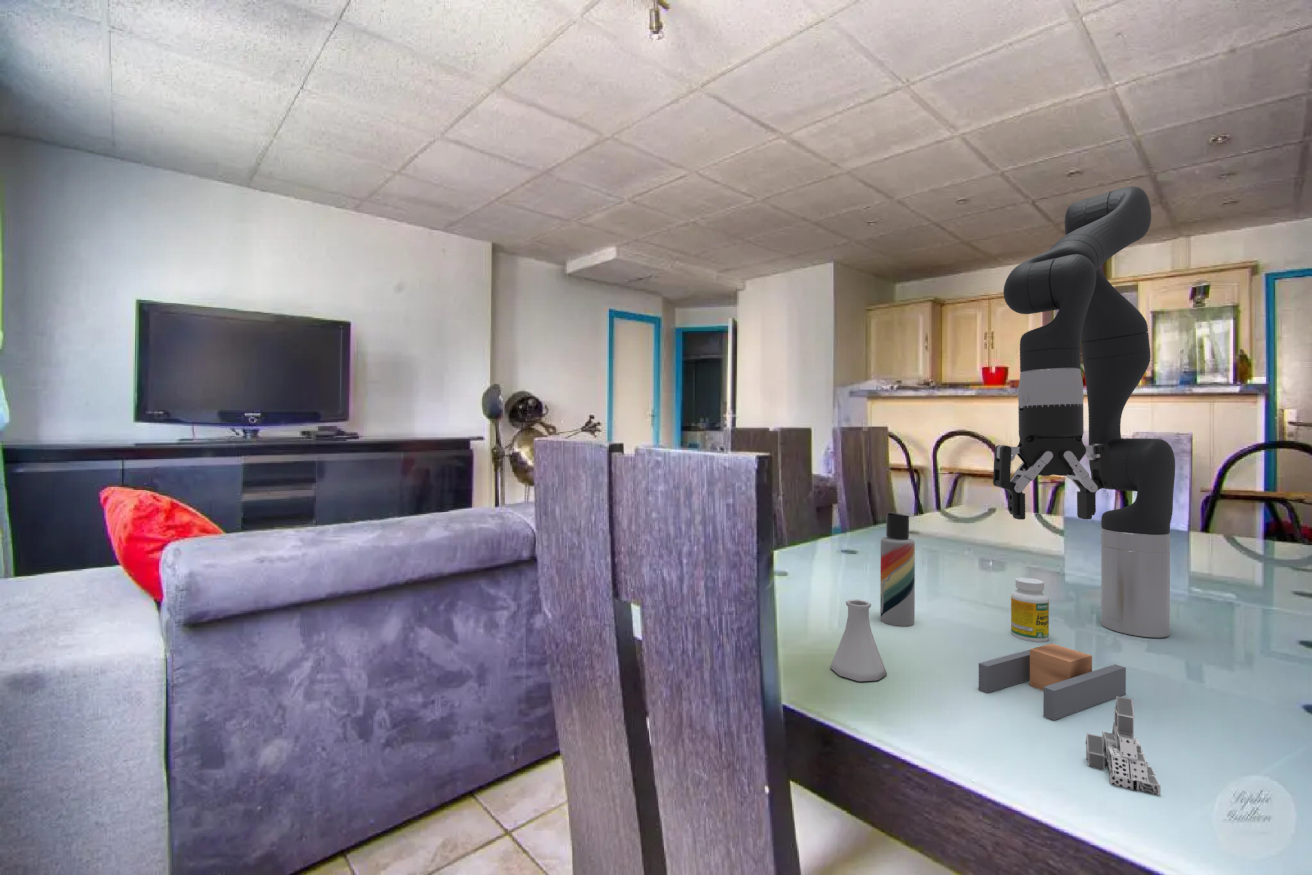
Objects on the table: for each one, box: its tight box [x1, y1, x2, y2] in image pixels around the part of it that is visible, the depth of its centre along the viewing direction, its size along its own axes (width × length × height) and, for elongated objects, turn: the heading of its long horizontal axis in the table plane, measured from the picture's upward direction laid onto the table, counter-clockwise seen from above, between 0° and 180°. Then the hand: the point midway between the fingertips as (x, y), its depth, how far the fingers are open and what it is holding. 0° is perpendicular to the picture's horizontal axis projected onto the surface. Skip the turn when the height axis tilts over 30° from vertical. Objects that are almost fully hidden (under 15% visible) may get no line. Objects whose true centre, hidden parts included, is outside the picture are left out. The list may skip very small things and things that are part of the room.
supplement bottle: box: [1010, 577, 1050, 643], centre depth 97 cm, size 5×5×10 cm
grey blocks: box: [978, 649, 1127, 721], centre depth 76 cm, size 16×9×4 cm, turn 117°
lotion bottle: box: [879, 511, 916, 628], centre depth 104 cm, size 6×6×20 cm
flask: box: [829, 599, 888, 682], centre depth 82 cm, size 7×7×10 cm
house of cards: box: [1085, 696, 1161, 796], centre depth 60 cm, size 9×9×8 cm
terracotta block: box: [1029, 643, 1093, 691], centre depth 77 cm, size 5×5×5 cm
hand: (1051, 518), depth 81 cm, fingers open, 8 cm apart
